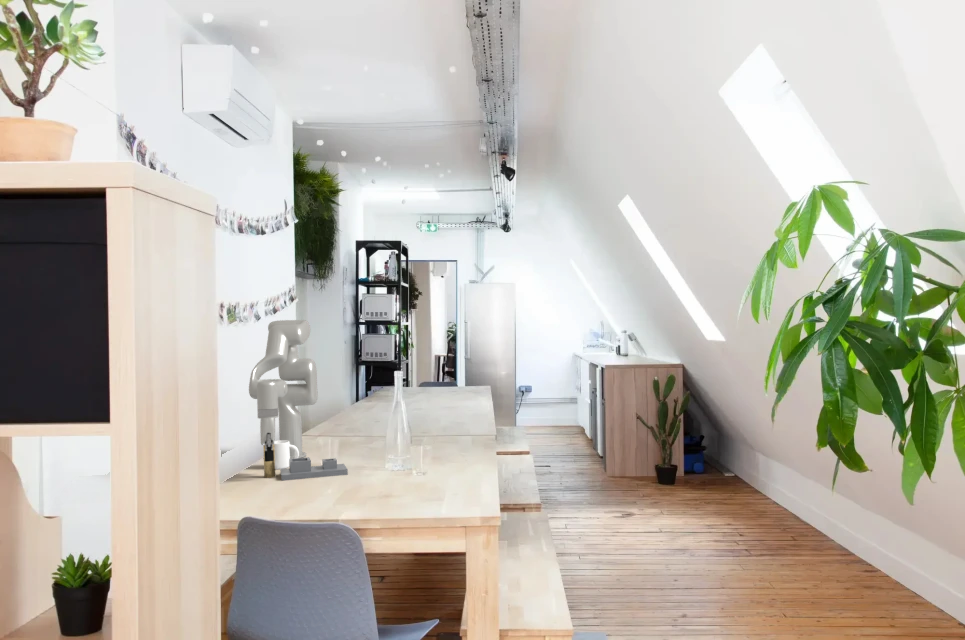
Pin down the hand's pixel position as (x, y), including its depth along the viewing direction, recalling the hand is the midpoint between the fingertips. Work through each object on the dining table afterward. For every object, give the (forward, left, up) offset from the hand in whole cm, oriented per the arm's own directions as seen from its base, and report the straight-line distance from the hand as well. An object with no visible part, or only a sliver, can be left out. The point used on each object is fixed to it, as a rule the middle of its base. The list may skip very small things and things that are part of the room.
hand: (269, 459), depth 274 cm
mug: (-18, +6, -7) cm, 20 cm away
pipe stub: (-1, 0, -7) cm, 7 cm away
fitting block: (+2, +16, -7) cm, 18 cm away
